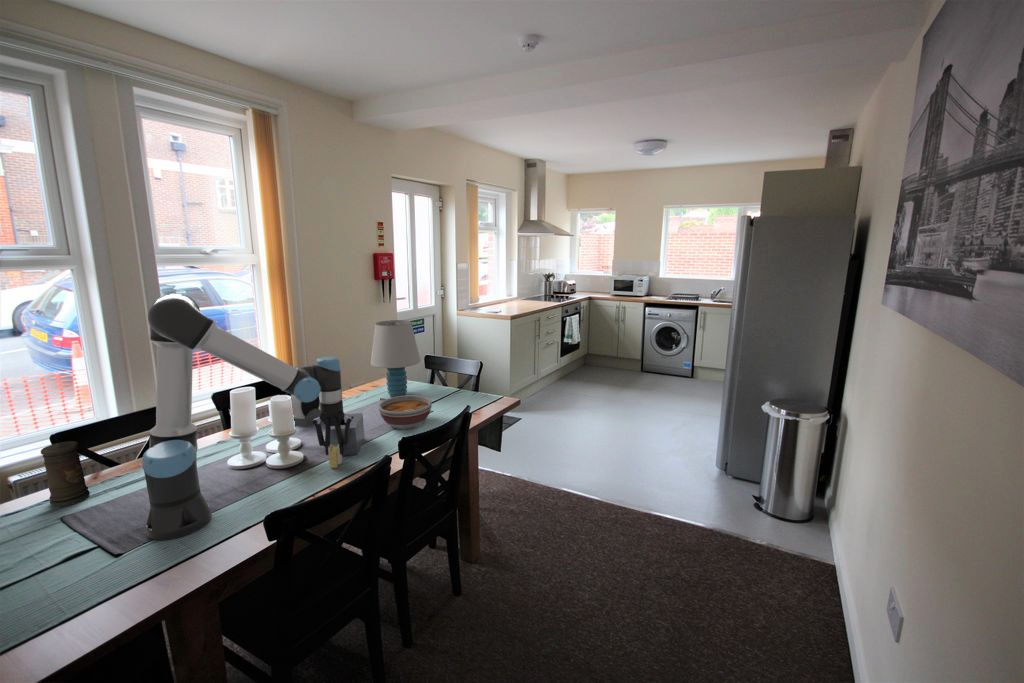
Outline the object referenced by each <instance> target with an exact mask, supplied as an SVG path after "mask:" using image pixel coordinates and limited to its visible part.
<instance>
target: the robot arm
mask: <svg viewBox="0 0 1024 683" xmlns="http://www.w3.org/2000/svg"><path fill="white" fill-rule="evenodd" d="M147 320H148V321H147V322H148V324H149V326H150V327H149V328H150V337H149V340H150V341H151V342H152V343H153V344H154V345H156V395H155V396H156V398H155V399H156V401H155V402H156V406H155V408H156V409H155V412H156V413H155V417H156V419H155V421H156V422H155V425H154V427H152V428H151V429H150V430H149V448H148V449H147V450H145V452H144V453H143V455H142V463H141V467H142V470H143V472H144V477H145V482H146V484H145V485H146V490H147V494H148V500H149V506H150V508H149V510H148V511H149V512H148V515H147V516H148V517H147V521H146V524H145V531H146V536H147V537H148V538H149V539H151V540H154V541H166V540H173V539H178V538H181V537H184V536H187V535H190V534H192V533H194V532H197V531H198V530H200V529H202V528H203V527H204V526H206V525H207V524H208V523H209V522H210V521H211V519H212V515H213V514H212V510H211V507H210V505H209V503H208V502H207V500H206V499H205V497H204V495H203V494H202V491H201V485H200V480H199V473H198V467H197V466H198V465H197V462H198V461H197V459H198V457H197V456H198V454H197V453H198V449H199V448H198V426H197V425H196V424H194V423H193V422H192V416H193V415H192V414H193V413H192V412H193V409H192V407H193V404H192V403H193V365H194V364H193V362H194V361H193V356H194V355H193V354H194V351H195V350H196V351H197V350H201V351H203V352H205V353H207V354H209V355H211V356H214V357H216V358H218V359H219V360H221V361H224V362H225V363H228V364H230V365H231V366H232V367H233V366H234V367H236V368H238V369H239V370H242V371H244V372H245V373H248V374H250V375H252V376H254V377H256V378H258V379H259V380H260V379H261V380H263V381H264V382H266V383H268V384H270V385H272V386H274V387H277V388H279V389H280V390H281V391H282V392H286V393H288V394H289V395H291V394H292V395H294V396H295V397H296V398H297V399H298V400H300V401H302V402H311V401H314V400H315V399H316V398H317V397H318V396H319V400H320V407H319V409H320V412H321V414H320V416H319V417H318V418H315V419H314V420H313V425H314V428H315V431H316V435H317V442H318V445H319V446H320V447H324V449H325V451H324V452H325V456H328V464H329V466H330V456H329V450H330V449H331V447H332V445H330V431H331V426H335V429H336V433H337V438H338V443H339V444H338V446H337V453H338V464H339V465H342V461H343V458H342V457H343V456H342V455H341V454H343V453H344V445H347V444H348V442H349V432H350V422H351V420H352V417H351V416H350V417H348V416H345V414H346V413H345V412H344V401H343V400H342V399H343V390H342V389H343V388H342V377H341V376H342V374H341V372H342V369H341V363H340V359H339V358H338V357H336V356H323V357H319V358H317V359H316V363H315V364H312V365H305V366H296V367H294V366H292V365H290V364H288V363H287V362H284V361H283V360H281V359H279V358H277V357H275V356H274V355H271V354H269V353H267V352H266V351H264V350H262V349H260V348H259V347H256V346H255V345H253V344H251V343H250V342H247V341H245V340H243V338H240V337H237V336H236V335H235V334H232V333H230V332H228V331H226V330H225V329H223V328H221V327H219V326H217V324H216V321H215V320H214V319H212V318H211V317H209V316H206V315H205V314H204V313H203V312H201V310H200V307H199V304H198V303H197V302H196V301H195V300H194V299H192V298H191V297H190V296H188V295H184V294H181V293H167V294H163V295H161V296H159V297H158V298H156V299H155V300H154V302H153V303H152V304H151V306H150V308H149V309H148V313H147ZM343 419H344V420H345V423H346V424H345V436H344V440H343V436H342V431H341V424H340V423H341V422H342V420H343ZM321 422H322V423H323V424H324V425H325V426H324V428H325V434H324V433H323V427H322V424H321ZM324 435H325V436H324Z"/></svg>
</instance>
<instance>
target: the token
mask: <svg viewBox="0 0 1024 683" xmlns="http://www.w3.org/2000/svg"><path fill="white" fill-rule="evenodd" d="M337 446H338V444H333V445H332V447H331V449H330V450H329V455H328V457H329V456H330V465H329V468H330V469H336V468H338V467H339V465H340V464H338V453H337Z"/></svg>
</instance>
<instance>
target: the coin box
mask: <svg viewBox="0 0 1024 683" xmlns="http://www.w3.org/2000/svg"><path fill="white" fill-rule="evenodd" d="M344 414H345V416H348V417H350V416H351V417H352V420H351V422H350V432H349V442H348V444H347V445H344V453H343V454H341V455H342V457H350V456H358V454H359V452H360V450H361V447H362V445H363V443H364V441H365V430H364V429H365V428H364V427H365V426H364V415H363V412H362V413H361V412H359V413H344ZM340 424H341V431H342V436H343V440H344V436H345V424H346V423H345V420H344V419H343V420H342V422H341V423H340ZM333 444H339V443H338V438H337V433H336V429H335V426H331V431H330V445H333Z"/></svg>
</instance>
